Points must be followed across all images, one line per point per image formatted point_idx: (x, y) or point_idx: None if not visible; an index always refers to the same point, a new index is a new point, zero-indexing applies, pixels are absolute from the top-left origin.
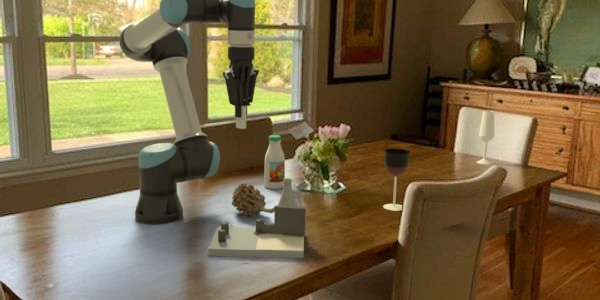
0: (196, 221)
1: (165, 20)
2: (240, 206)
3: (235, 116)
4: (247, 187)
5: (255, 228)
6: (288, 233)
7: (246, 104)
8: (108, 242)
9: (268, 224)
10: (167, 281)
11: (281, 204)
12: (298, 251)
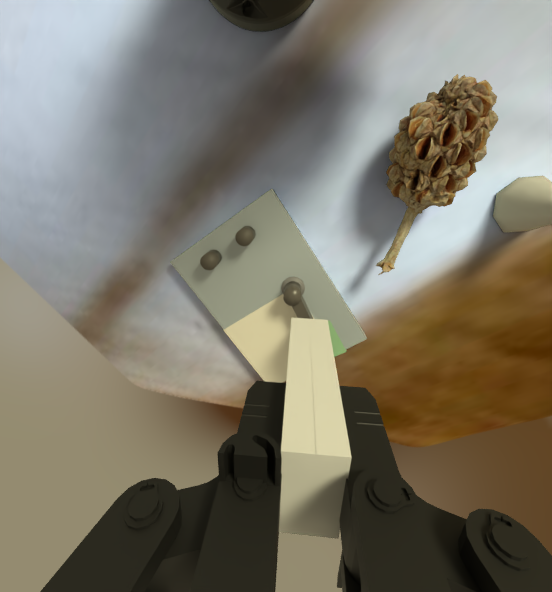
0: (298, 81)
1: None
2: (393, 157)
3: (253, 386)
4: (455, 144)
5: (310, 264)
6: None
7: (341, 562)
8: (63, 18)
9: (298, 312)
10: (70, 276)
11: (506, 203)
12: (265, 381)
